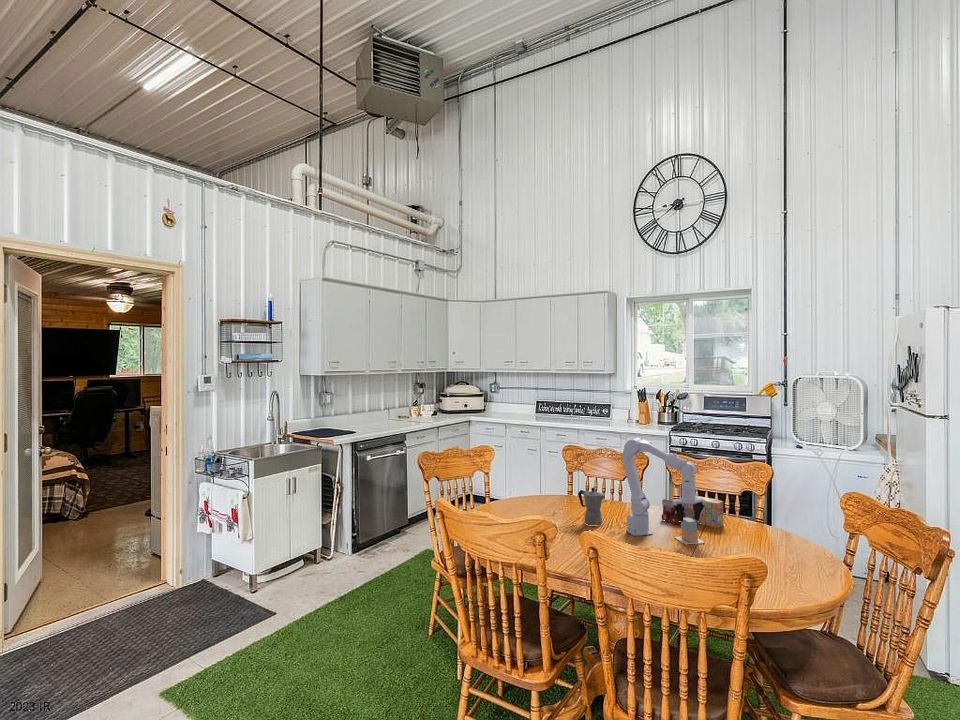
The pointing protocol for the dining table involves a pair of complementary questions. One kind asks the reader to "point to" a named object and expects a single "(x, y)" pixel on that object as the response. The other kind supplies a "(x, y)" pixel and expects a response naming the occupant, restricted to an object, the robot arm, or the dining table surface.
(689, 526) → the slate brick
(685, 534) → the terracotta brick
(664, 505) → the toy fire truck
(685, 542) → the baseplate
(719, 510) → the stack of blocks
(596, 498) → the coffeepot
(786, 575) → the dining table surface
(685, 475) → the robot arm
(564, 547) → the dining table surface
